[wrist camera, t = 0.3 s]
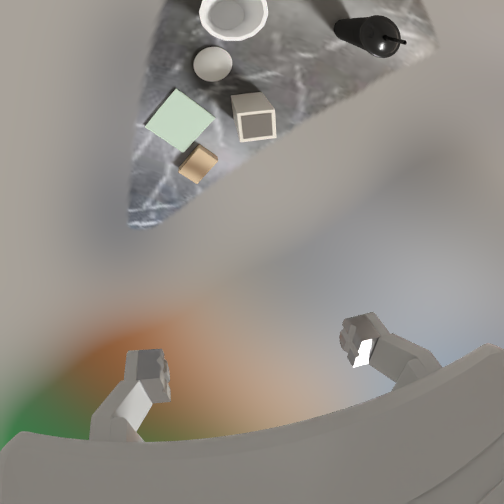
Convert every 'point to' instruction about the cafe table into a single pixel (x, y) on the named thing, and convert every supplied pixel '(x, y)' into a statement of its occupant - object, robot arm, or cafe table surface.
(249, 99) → the canister
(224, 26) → the foam cup
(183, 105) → the mat
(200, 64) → the white pebble stone
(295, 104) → the cafe table surface
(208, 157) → the oak block
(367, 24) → the drinking cup
